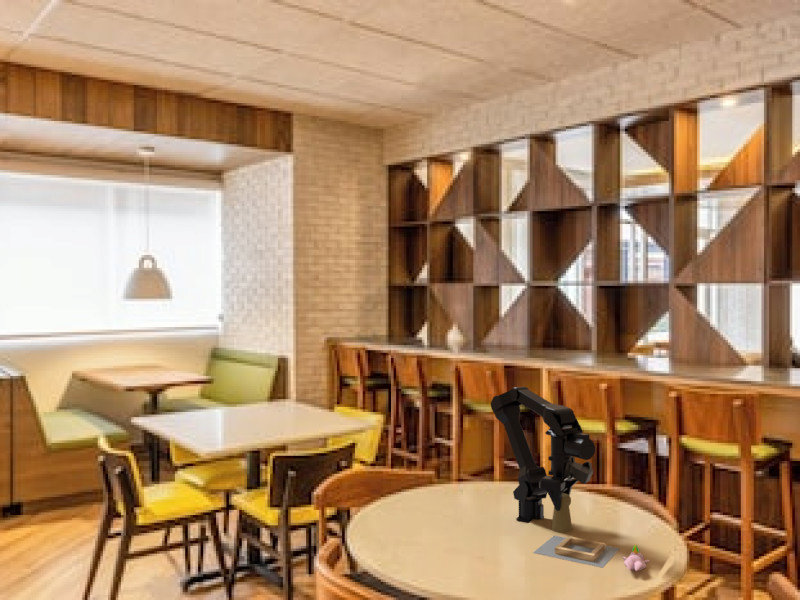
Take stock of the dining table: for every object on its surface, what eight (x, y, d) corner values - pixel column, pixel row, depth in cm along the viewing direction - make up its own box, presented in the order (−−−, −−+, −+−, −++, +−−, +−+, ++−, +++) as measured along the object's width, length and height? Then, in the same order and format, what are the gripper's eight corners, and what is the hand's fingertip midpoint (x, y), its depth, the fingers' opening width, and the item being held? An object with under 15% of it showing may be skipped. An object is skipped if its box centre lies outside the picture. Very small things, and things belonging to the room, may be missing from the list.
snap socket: (554, 553, 175) (554, 547, 175) (568, 541, 183) (568, 536, 183) (593, 561, 169) (593, 555, 169) (605, 549, 177) (605, 543, 177)
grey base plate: (532, 556, 175) (532, 552, 175) (554, 539, 188) (554, 535, 188) (602, 571, 165) (602, 567, 165) (620, 552, 178) (620, 548, 178)
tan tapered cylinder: (573, 537, 189) (573, 497, 189) (551, 535, 190) (550, 496, 190) (572, 529, 195) (572, 491, 195) (550, 528, 196) (550, 490, 196)
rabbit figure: (624, 563, 174) (619, 575, 161) (624, 539, 175) (619, 549, 161) (650, 566, 172) (647, 579, 158) (650, 542, 173) (647, 552, 159)
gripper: (577, 463, 180) (578, 522, 181) (599, 449, 196) (600, 504, 196) (538, 458, 187) (538, 515, 187) (562, 445, 202) (562, 497, 202)
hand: (561, 507), depth 193 cm, fingers closed on tan tapered cylinder, 5 cm apart
